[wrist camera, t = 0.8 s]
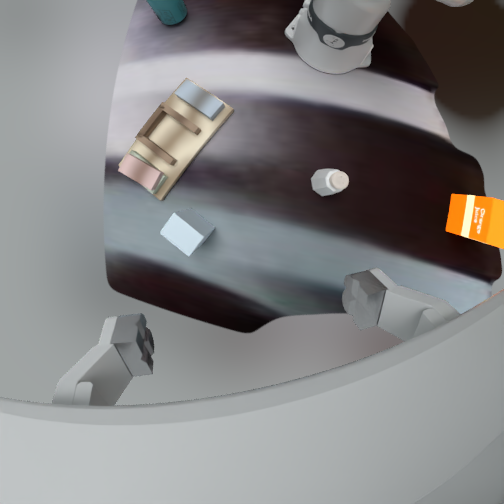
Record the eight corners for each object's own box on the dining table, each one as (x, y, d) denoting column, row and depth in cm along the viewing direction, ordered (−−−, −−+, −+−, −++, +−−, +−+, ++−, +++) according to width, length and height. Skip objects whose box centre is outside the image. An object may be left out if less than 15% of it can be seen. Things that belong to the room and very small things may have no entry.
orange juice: (445, 231, 51) (504, 249, 31) (451, 193, 49) (512, 199, 30) (466, 237, 51) (523, 256, 31) (472, 201, 49) (531, 210, 30)
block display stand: (121, 166, 50) (108, 164, 45) (188, 80, 46) (181, 70, 41) (162, 200, 52) (152, 201, 46) (234, 111, 48) (231, 102, 42)
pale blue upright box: (179, 224, 53) (159, 232, 42) (191, 208, 52) (174, 212, 41) (202, 243, 53) (188, 256, 43) (215, 227, 53) (203, 236, 42)
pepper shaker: (313, 165, 49) (327, 158, 39) (340, 172, 49) (360, 167, 39) (308, 192, 51) (320, 193, 40) (335, 199, 51) (353, 201, 40)
